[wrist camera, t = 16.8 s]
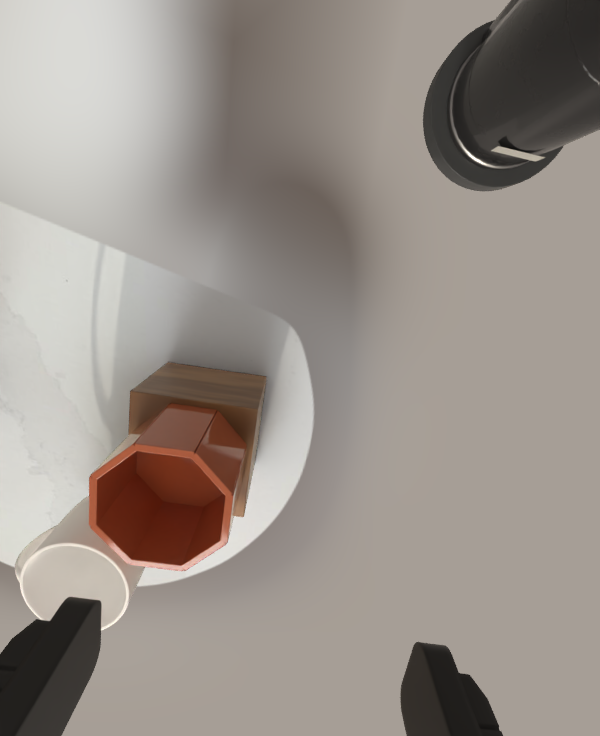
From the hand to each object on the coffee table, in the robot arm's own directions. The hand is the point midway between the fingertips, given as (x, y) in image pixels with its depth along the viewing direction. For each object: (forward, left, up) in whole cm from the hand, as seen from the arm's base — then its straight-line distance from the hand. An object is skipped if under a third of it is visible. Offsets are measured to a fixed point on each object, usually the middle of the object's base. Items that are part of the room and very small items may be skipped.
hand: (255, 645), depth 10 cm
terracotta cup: (+7, -7, -21) cm, 23 cm away
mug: (+19, -16, -30) cm, 39 cm away
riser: (+7, -7, -30) cm, 31 cm away
